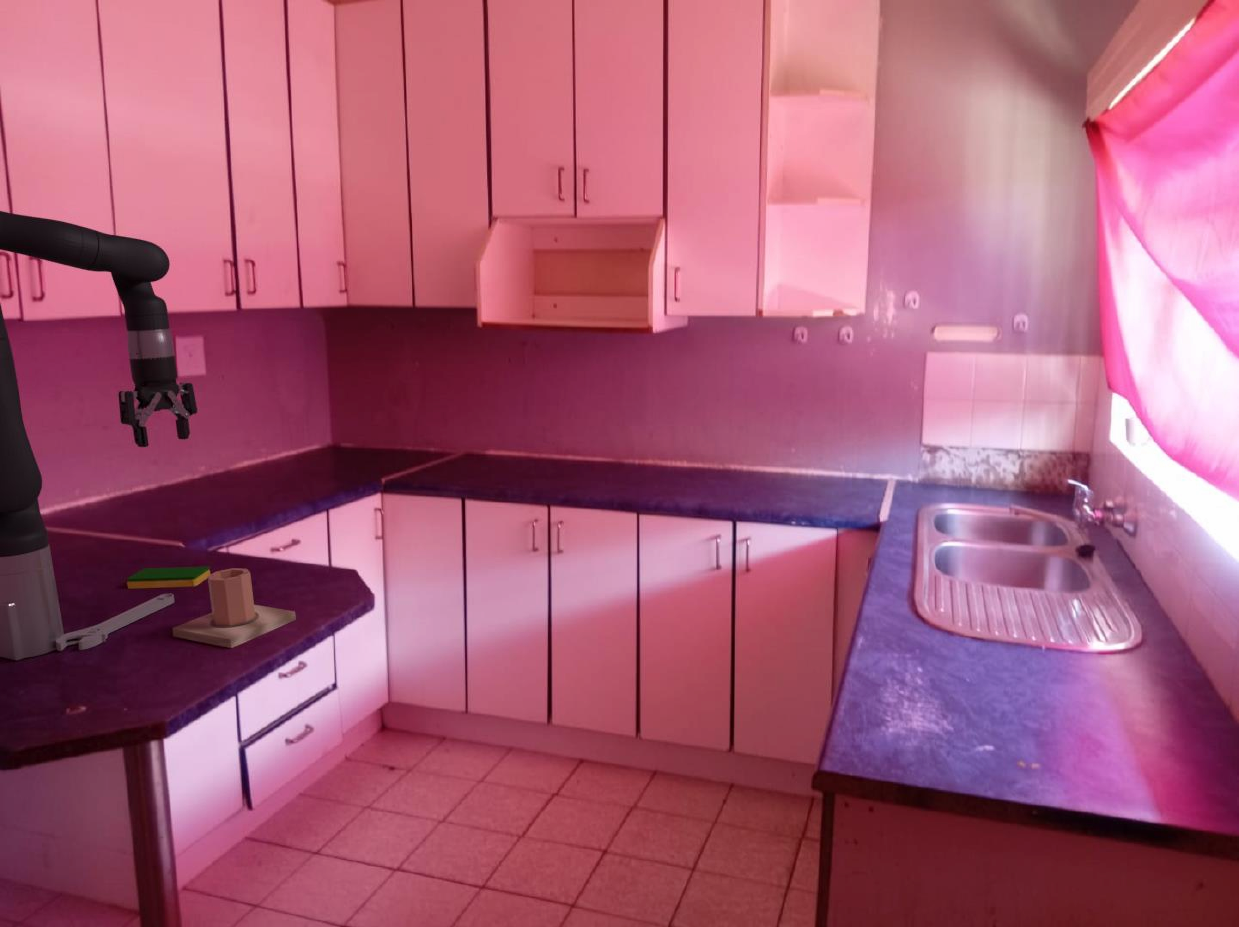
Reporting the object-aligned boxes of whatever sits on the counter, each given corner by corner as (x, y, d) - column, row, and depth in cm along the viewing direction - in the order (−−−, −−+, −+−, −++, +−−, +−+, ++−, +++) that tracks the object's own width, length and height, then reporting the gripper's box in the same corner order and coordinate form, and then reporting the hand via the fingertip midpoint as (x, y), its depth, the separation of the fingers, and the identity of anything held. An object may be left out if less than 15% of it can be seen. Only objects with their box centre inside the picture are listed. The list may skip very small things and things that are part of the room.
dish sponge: (145, 579, 198) (143, 568, 197) (211, 577, 198) (210, 566, 197) (127, 590, 191) (125, 578, 190) (196, 588, 191) (194, 576, 190)
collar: (218, 628, 161) (212, 582, 160) (211, 617, 167) (205, 573, 165) (257, 619, 165) (252, 574, 163) (249, 609, 170) (244, 566, 168)
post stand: (231, 648, 157) (224, 595, 155) (173, 636, 163) (166, 585, 161) (295, 619, 169) (290, 570, 167) (239, 609, 175) (233, 562, 174)
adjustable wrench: (165, 600, 182) (164, 591, 182) (192, 604, 180) (192, 595, 180) (49, 649, 159) (48, 639, 159) (79, 654, 157) (78, 644, 157)
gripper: (130, 358, 167) (143, 450, 170) (199, 351, 179) (209, 437, 182) (102, 358, 170) (115, 448, 173) (171, 351, 182) (183, 435, 186)
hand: (163, 442), depth 178 cm, fingers open, 8 cm apart
